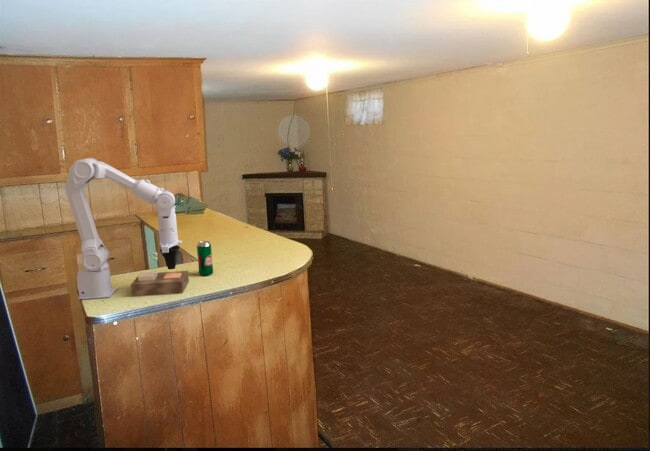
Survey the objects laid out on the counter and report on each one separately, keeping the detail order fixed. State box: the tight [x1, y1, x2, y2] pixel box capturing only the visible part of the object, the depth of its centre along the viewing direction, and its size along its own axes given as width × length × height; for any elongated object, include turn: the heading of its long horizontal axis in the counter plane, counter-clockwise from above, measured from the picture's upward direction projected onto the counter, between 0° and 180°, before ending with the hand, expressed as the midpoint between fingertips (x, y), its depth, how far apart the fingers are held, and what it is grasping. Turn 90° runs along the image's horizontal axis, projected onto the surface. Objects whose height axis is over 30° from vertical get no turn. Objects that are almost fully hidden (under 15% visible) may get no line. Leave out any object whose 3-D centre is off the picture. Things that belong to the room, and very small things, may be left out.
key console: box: [130, 270, 190, 297], centre depth 166 cm, size 16×12×4 cm
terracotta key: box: [163, 273, 182, 280], centre depth 167 cm, size 5×5×2 cm
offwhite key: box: [137, 270, 158, 281], centre depth 166 cm, size 5×5×2 cm
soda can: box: [196, 240, 214, 277], centre depth 181 cm, size 5×5×12 cm
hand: (171, 268), depth 166 cm, fingers closed
